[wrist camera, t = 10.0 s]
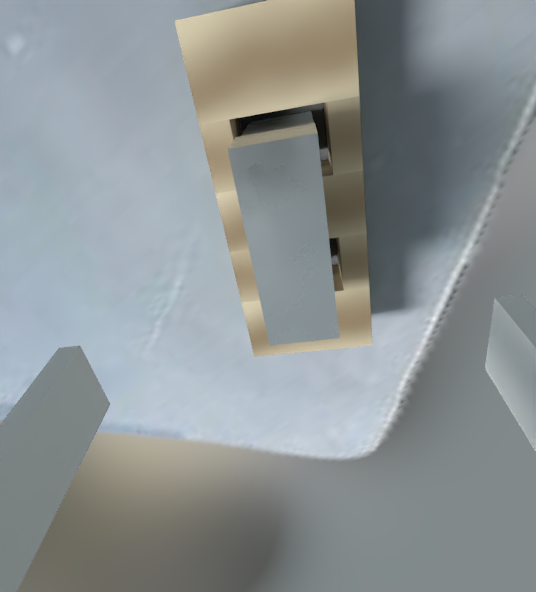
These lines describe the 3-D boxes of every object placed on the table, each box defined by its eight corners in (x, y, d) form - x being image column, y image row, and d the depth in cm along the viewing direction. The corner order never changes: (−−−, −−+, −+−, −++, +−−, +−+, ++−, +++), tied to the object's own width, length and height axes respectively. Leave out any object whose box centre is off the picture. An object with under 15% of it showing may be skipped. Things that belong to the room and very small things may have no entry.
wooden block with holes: (191, 25, 24) (174, 20, 21) (344, -8, 23) (353, -19, 19) (258, 326, 35) (254, 356, 32) (364, 315, 34) (372, 345, 30)
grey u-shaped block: (249, 118, 27) (227, 149, 18) (310, 106, 26) (317, 133, 17) (276, 267, 32) (269, 345, 23) (327, 260, 31) (339, 338, 23)
